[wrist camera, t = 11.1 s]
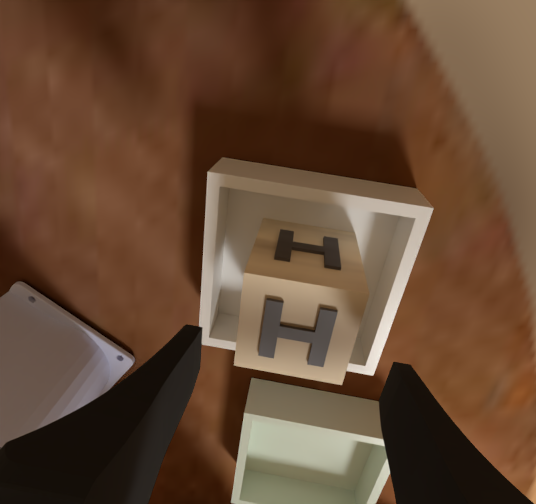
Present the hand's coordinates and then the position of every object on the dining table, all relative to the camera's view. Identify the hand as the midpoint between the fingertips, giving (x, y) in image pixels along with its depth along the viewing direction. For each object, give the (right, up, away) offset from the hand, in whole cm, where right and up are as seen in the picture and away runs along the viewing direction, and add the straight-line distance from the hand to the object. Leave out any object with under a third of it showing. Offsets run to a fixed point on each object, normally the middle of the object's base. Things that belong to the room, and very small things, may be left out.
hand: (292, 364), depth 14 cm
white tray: (+1, +4, +8) cm, 9 cm away
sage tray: (+2, -10, +14) cm, 18 cm away
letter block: (+1, +3, +7) cm, 8 cm away
